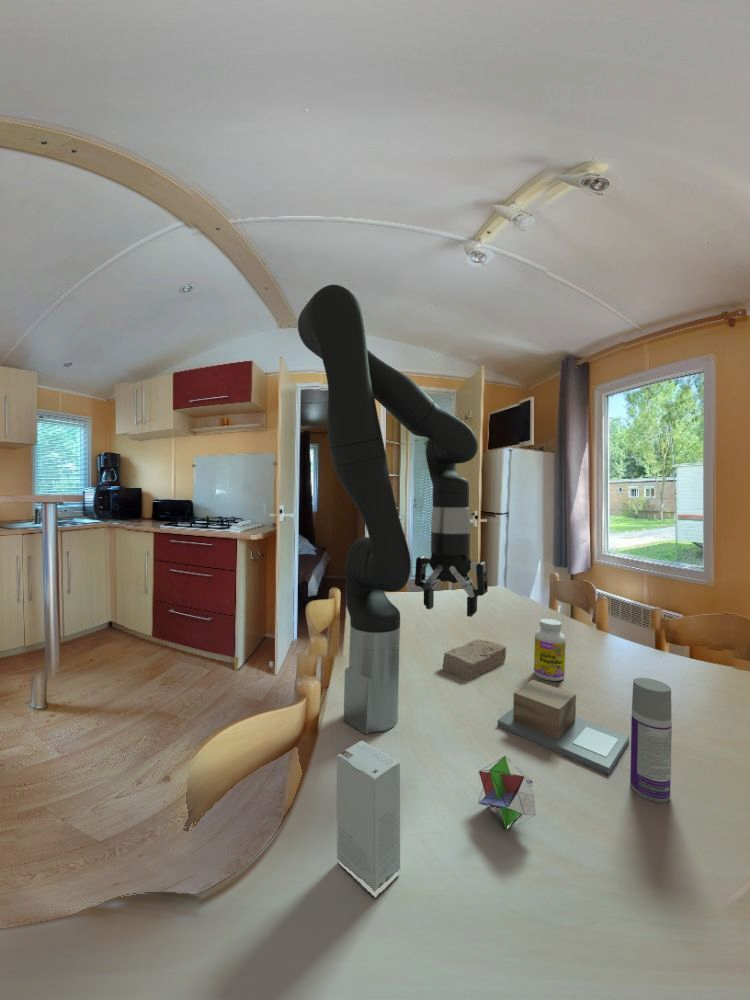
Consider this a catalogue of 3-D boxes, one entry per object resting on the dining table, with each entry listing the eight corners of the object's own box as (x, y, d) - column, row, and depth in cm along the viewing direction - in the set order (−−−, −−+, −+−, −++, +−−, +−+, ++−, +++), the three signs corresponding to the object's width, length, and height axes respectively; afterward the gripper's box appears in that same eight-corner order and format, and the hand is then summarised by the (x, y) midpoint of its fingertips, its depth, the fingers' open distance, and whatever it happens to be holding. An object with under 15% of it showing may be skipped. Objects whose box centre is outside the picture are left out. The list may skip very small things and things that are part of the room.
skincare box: (401, 874, 43) (404, 760, 43) (373, 904, 40) (376, 781, 40) (361, 840, 47) (364, 736, 47) (332, 864, 44) (335, 753, 44)
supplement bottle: (534, 679, 93) (535, 623, 93) (533, 668, 99) (534, 616, 99) (566, 684, 90) (567, 627, 91) (562, 672, 97) (564, 619, 97)
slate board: (608, 774, 60) (609, 767, 60) (497, 725, 73) (497, 719, 73) (628, 742, 68) (629, 735, 68) (526, 703, 81) (526, 697, 81)
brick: (470, 682, 91) (470, 661, 91) (440, 670, 97) (441, 650, 97) (507, 664, 102) (507, 645, 102) (478, 654, 108) (478, 637, 108)
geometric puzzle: (455, 791, 53) (489, 759, 49) (482, 767, 58) (515, 737, 54) (494, 851, 49) (534, 822, 45) (520, 821, 53) (558, 792, 50)
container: (632, 774, 60) (634, 674, 60) (671, 789, 57) (673, 683, 57) (627, 791, 56) (630, 684, 57) (669, 808, 53) (671, 695, 54)
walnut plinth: (558, 739, 67) (559, 709, 67) (513, 720, 73) (513, 692, 73) (575, 721, 73) (575, 694, 73) (531, 705, 78) (532, 679, 78)
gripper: (409, 529, 79) (408, 610, 80) (480, 534, 72) (479, 623, 72) (425, 526, 86) (424, 602, 86) (492, 530, 78) (491, 613, 78)
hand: (449, 611), depth 79 cm, fingers open, 8 cm apart
